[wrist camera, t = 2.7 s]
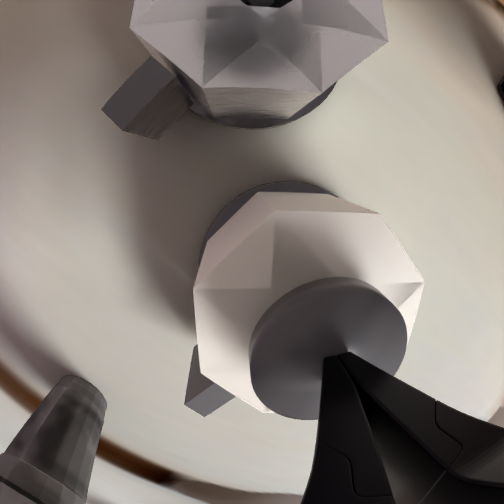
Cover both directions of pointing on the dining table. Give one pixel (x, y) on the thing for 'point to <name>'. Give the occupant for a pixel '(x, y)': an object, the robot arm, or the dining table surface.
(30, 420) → the beverage cup
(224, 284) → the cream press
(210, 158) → the dining table surface
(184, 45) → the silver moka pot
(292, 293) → the cream plunger
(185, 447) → the dining table surface
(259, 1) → the steel plunger
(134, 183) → the dining table surface
